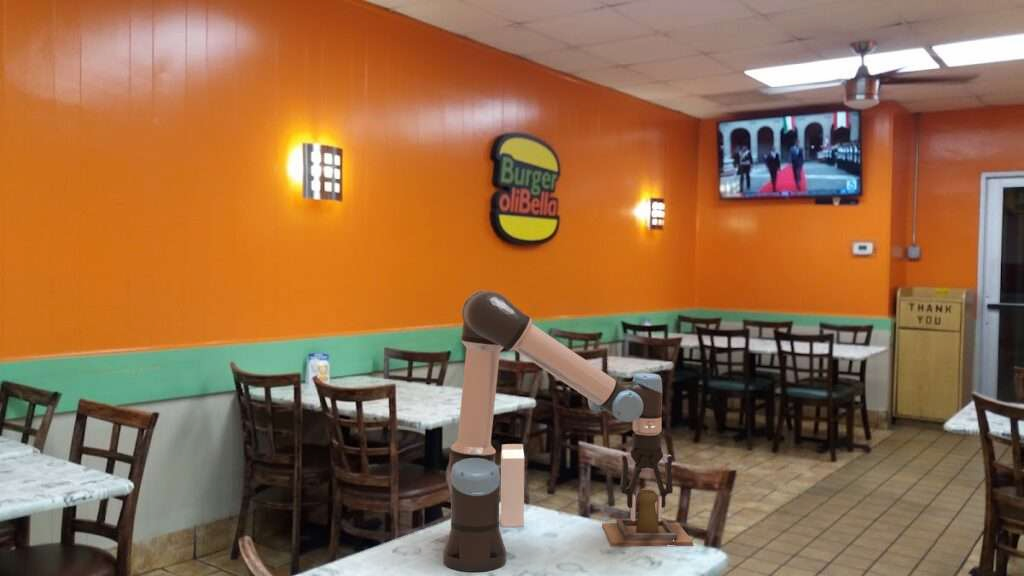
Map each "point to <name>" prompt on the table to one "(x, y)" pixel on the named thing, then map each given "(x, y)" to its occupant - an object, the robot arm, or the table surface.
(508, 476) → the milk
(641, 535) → the board
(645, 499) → the brown tall rounded piece
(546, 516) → the table surface
